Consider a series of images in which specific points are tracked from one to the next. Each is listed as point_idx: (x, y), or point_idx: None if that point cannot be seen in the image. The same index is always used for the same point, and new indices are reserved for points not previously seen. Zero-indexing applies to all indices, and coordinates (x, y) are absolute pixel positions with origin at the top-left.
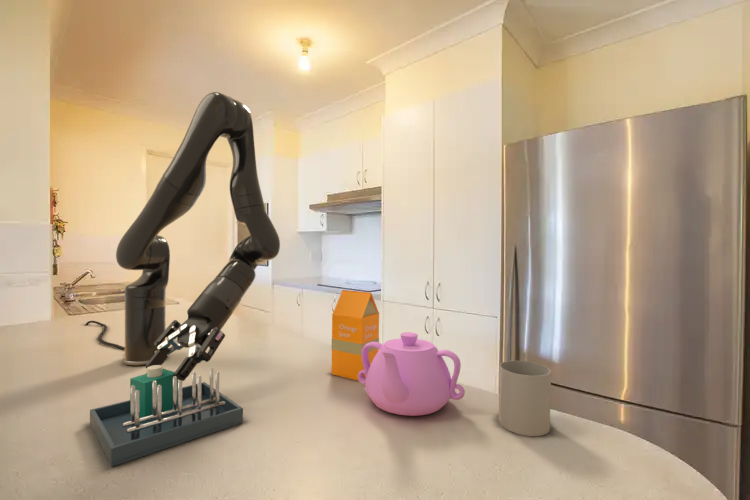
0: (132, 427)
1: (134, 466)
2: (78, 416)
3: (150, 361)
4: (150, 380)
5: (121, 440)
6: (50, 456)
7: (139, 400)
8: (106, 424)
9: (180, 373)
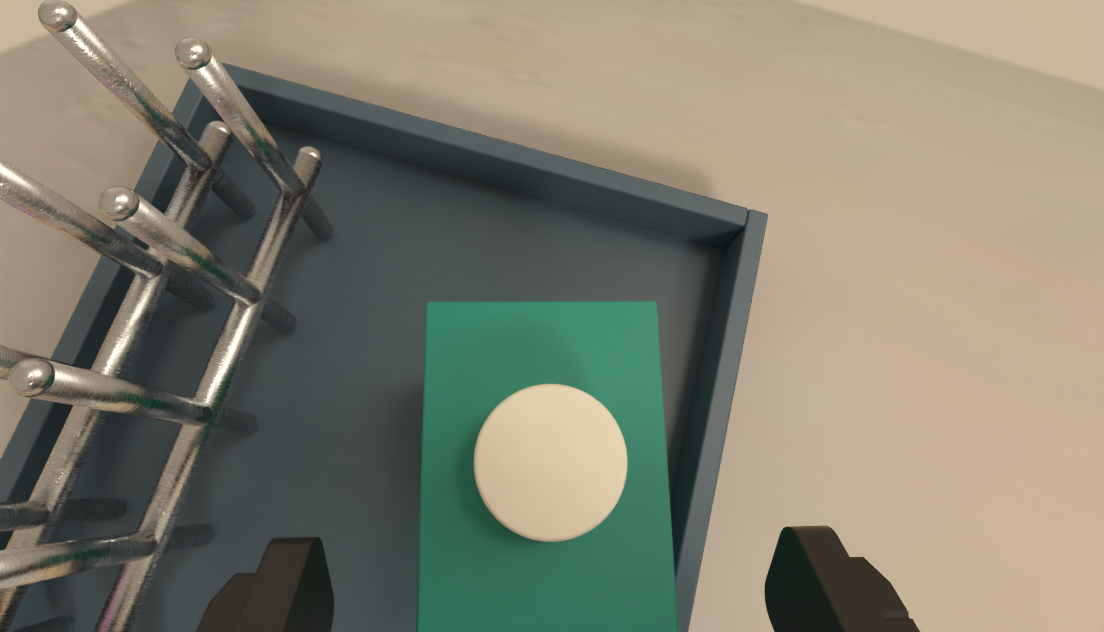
0: (206, 139)
1: (151, 153)
2: (894, 264)
3: (834, 576)
4: (443, 360)
5: (386, 212)
6: (553, 40)
7: (94, 75)
8: (632, 262)
9: (242, 580)
